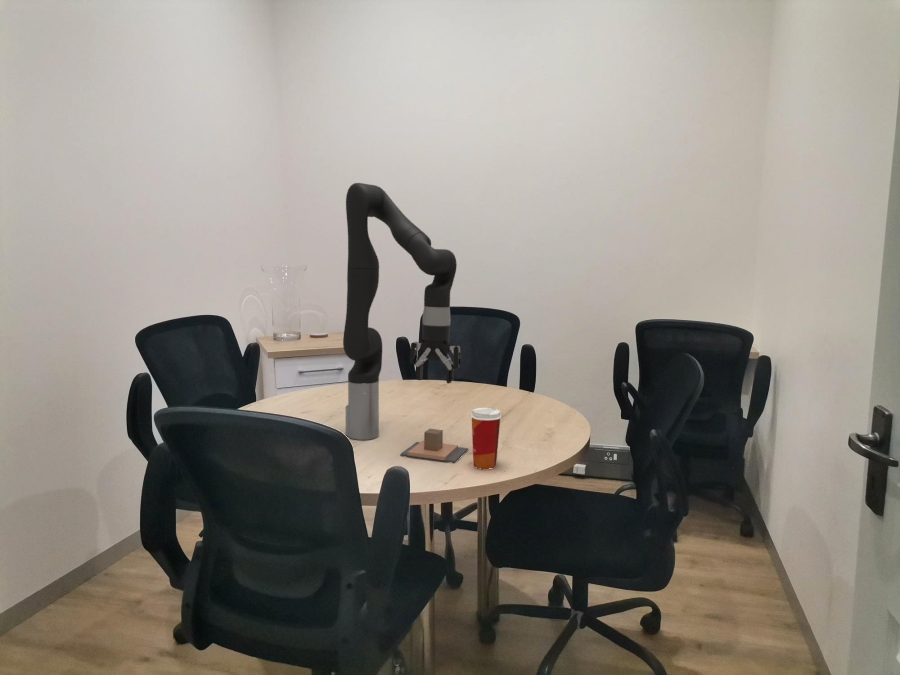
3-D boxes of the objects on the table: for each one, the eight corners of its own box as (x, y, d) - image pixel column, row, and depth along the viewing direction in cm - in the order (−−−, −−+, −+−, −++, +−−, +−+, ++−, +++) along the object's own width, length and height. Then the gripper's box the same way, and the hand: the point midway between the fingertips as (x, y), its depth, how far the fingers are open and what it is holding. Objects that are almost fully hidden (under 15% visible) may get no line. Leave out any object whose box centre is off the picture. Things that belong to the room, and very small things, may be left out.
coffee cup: (481, 458, 170) (482, 405, 168) (506, 465, 164) (507, 410, 162) (462, 466, 163) (463, 411, 161) (487, 473, 158) (489, 416, 156)
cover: (407, 455, 169) (407, 434, 168) (422, 444, 180) (422, 424, 179) (445, 460, 166) (445, 438, 165) (458, 448, 176) (458, 428, 175)
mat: (400, 455, 171) (400, 453, 170) (416, 443, 182) (416, 441, 182) (454, 463, 165) (454, 461, 165) (468, 450, 177) (468, 448, 177)
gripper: (406, 322, 166) (405, 381, 169) (456, 326, 162) (454, 386, 164) (417, 319, 173) (415, 376, 176) (465, 323, 169) (463, 381, 171)
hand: (434, 381), depth 170 cm, fingers open, 8 cm apart
